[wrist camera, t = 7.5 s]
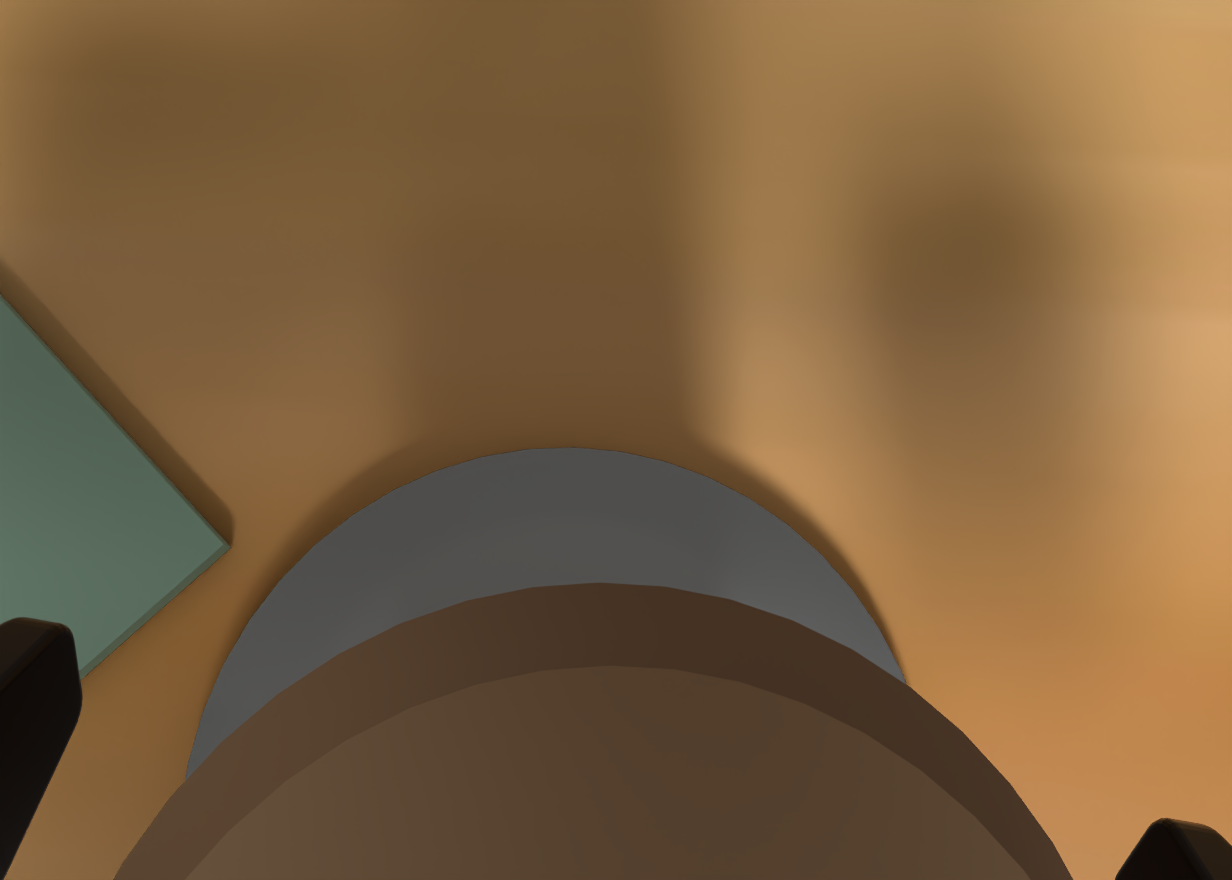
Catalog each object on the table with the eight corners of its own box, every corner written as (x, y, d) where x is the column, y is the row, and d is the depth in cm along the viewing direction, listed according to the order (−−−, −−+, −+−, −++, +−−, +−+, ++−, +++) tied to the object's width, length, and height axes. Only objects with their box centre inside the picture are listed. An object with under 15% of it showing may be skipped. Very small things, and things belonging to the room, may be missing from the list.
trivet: (552, 1417, 14) (552, 1448, 14) (34, 808, 16) (14, 813, 15) (1065, 814, 16) (1084, 818, 16) (576, 321, 18) (577, 310, 17)
